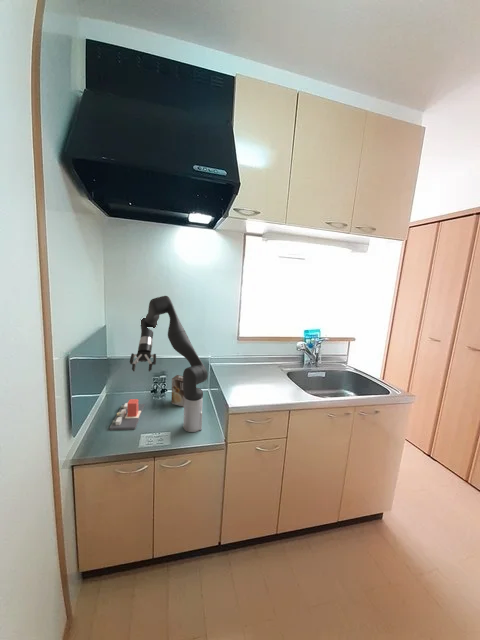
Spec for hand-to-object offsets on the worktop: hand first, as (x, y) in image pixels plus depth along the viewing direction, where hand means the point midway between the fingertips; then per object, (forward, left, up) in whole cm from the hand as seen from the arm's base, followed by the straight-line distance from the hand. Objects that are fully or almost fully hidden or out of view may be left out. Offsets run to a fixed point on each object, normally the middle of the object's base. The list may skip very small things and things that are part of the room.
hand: (141, 371), depth 150 cm
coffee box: (-22, -1, -21) cm, 30 cm away
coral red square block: (+2, +13, -19) cm, 23 cm away
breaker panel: (+4, +13, -20) cm, 25 cm away
